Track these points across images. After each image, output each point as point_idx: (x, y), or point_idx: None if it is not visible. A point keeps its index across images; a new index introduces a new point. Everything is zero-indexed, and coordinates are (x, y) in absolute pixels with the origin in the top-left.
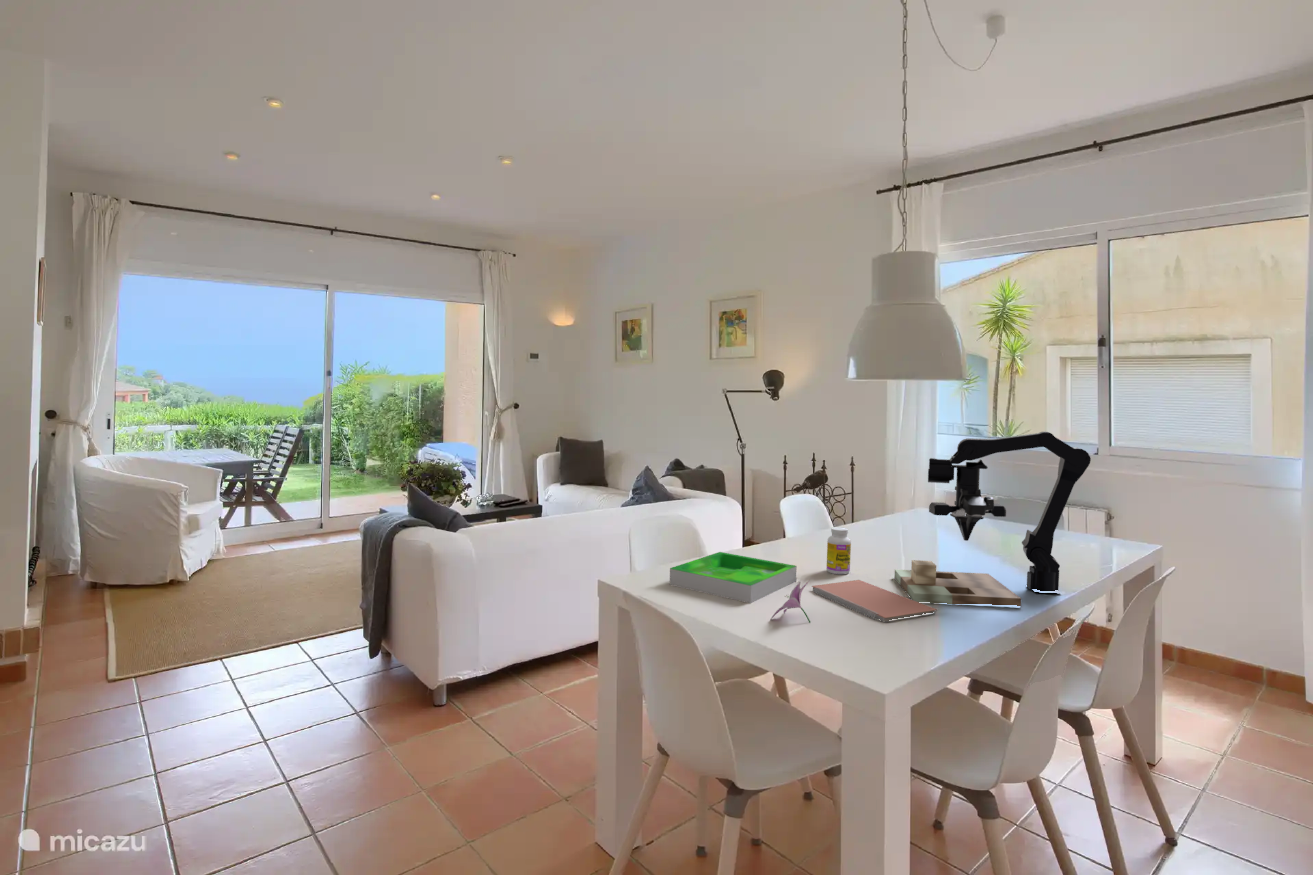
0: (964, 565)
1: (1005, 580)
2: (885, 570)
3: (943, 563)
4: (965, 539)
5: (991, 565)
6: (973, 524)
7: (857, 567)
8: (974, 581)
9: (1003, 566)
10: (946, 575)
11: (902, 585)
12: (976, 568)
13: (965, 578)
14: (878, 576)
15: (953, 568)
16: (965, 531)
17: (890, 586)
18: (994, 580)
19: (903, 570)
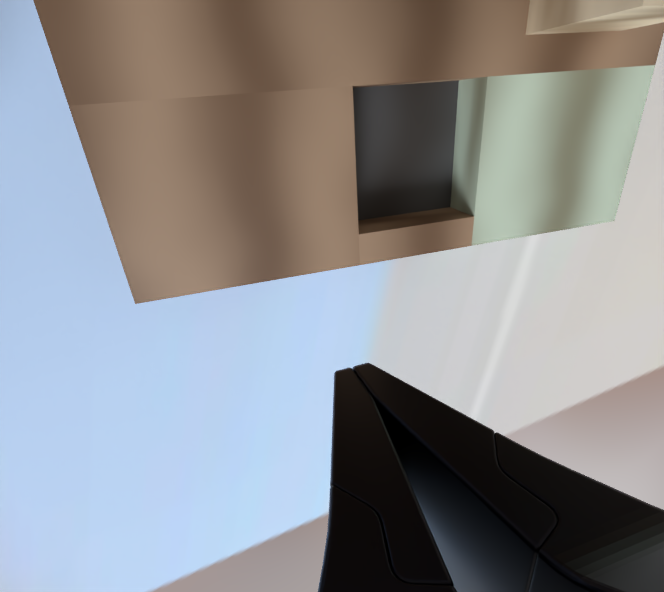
0: (228, 525)
1: (35, 361)
2: (561, 324)
3: (310, 513)
4: (368, 367)
5: (106, 577)
6: (363, 585)
7: (638, 327)
8: (254, 43)
9: (48, 588)
10: (381, 226)
11: None
12: (180, 506)
13: (303, 121)
14: (626, 218)
15: (283, 463)
16: (430, 422)
17: None
18: (97, 118)
19: (584, 212)
